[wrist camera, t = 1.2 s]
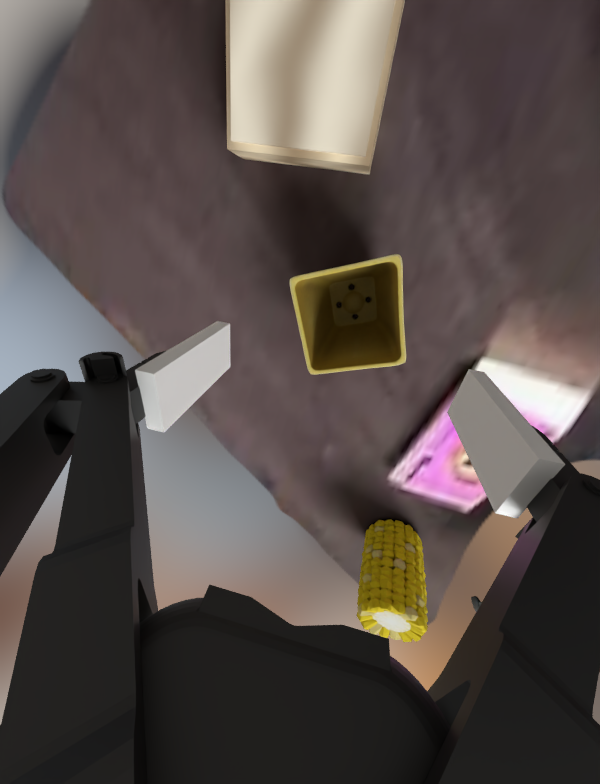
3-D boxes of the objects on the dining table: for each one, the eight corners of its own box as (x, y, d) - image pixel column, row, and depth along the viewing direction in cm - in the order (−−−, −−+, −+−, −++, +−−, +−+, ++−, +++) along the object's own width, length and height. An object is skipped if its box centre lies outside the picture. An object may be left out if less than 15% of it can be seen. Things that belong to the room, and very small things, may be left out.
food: (411, 545, 51) (358, 529, 53) (435, 520, 43) (371, 502, 45) (414, 653, 40) (346, 629, 42) (446, 648, 32) (361, 618, 34)
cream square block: (415, -51, 18) (426, -115, 15) (369, 174, 25) (370, 165, 21) (246, -56, 20) (221, -116, 16) (243, 158, 26) (225, 147, 23)
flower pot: (307, 266, 29) (287, 277, 22) (391, 247, 27) (402, 252, 19) (321, 343, 33) (308, 375, 26) (396, 332, 31) (406, 365, 23)
